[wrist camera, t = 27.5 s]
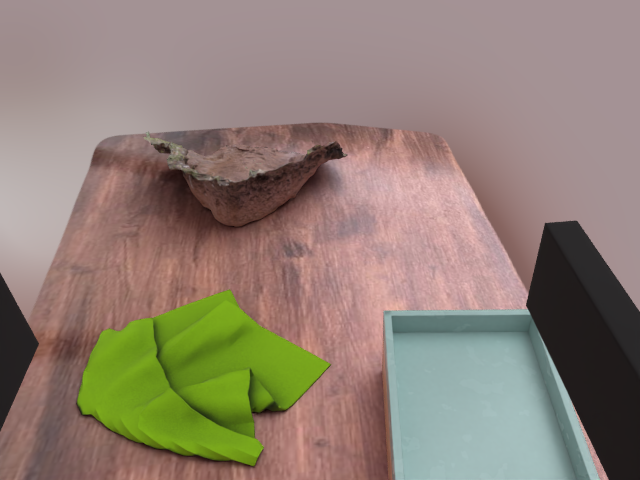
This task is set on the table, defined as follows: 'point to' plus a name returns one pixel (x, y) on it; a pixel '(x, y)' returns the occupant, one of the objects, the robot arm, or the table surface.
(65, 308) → the table surface
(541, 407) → the teal and tan box
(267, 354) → the cloth
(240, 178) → the rock
